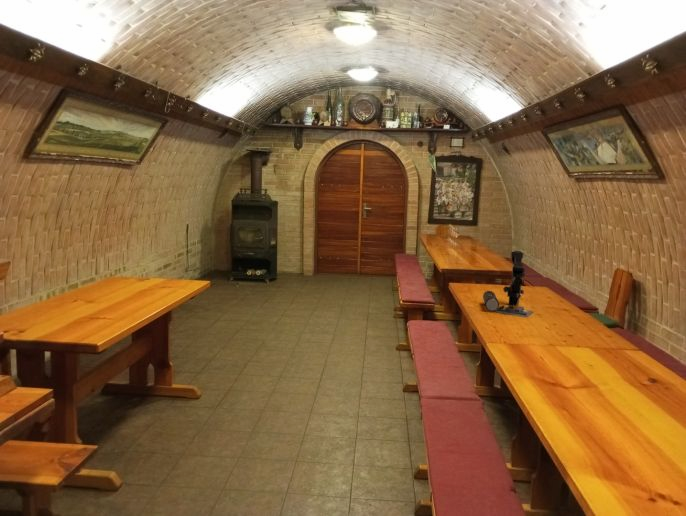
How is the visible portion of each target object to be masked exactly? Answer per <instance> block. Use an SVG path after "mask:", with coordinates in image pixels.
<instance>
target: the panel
mask: <svg viewBox="0 0 686 516" xmlns="http://www.w3.org/2000/svg"><path fill="white" fill-rule="evenodd" d="M506 307H507V306H504V307H503V308H501V309H502V310H505V308H506ZM524 310H526V311H527V312H524ZM524 310H523V311H522V312H520V313H527V315H522V314H516V313H510V312H503V311H497V309H496V310H494V311H495V313H498V312H499V314H504V315H512V316H516V315H517V317H523V318H528V316H529V317H530V316H531V315H533V314H534V311H533V310H528V309H524ZM532 313H533V314H532Z"/></svg>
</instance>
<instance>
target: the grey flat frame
mask: <svg viewBox="0 0 686 516" xmlns="http://www.w3.org/2000/svg"><path fill="white" fill-rule="evenodd" d="M503 307H505V305H501V306H499V307H498V308H497V309H496V310H497V311H503V312H510V313H516V314H522V315H527V313H520V312H514V311H508V310H502V309H501V308H503Z"/></svg>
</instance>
